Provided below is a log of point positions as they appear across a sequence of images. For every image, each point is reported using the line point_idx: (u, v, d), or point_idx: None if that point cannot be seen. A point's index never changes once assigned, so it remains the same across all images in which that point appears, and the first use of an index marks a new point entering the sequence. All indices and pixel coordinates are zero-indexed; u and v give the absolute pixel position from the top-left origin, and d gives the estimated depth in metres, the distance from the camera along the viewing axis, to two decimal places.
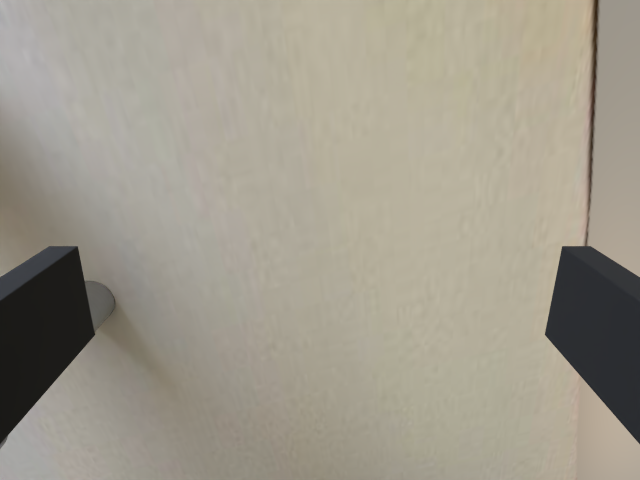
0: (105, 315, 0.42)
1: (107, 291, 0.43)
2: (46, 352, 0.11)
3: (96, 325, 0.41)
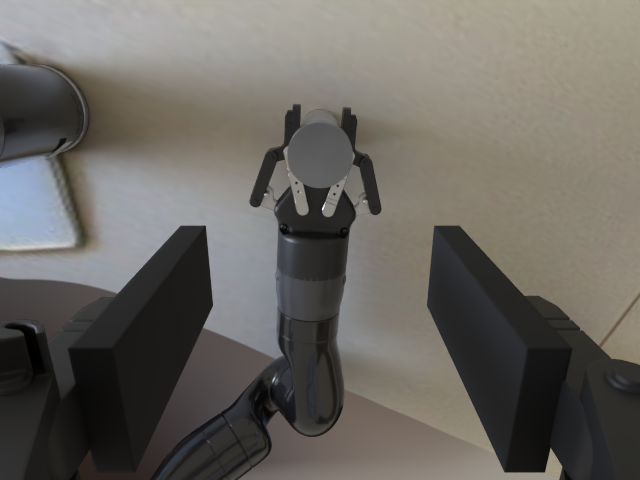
0: (334, 118, 0.48)
1: (320, 109, 0.50)
2: (192, 315, 0.12)
3: (335, 119, 0.47)
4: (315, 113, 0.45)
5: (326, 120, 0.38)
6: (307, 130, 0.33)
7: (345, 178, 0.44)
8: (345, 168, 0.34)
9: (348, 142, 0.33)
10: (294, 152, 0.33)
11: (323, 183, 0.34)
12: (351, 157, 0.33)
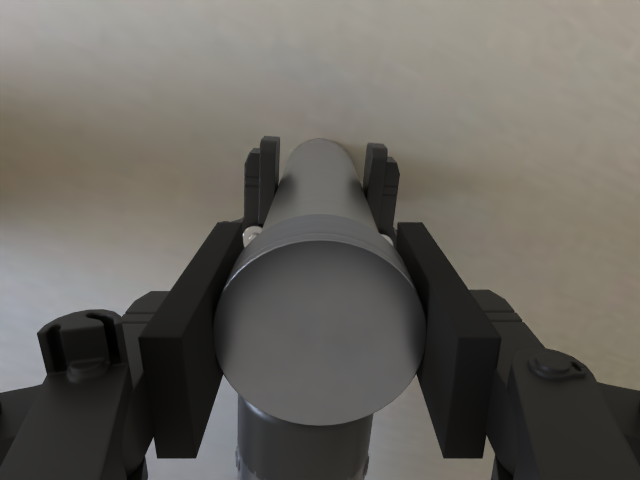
0: (348, 157, 0.25)
1: (320, 139, 0.26)
2: None
3: (350, 163, 0.23)
4: (310, 153, 0.22)
5: (336, 189, 0.15)
6: (276, 264, 0.10)
7: None
8: (401, 374, 0.10)
9: (415, 301, 0.10)
10: (235, 329, 0.10)
11: (330, 414, 0.11)
12: (422, 343, 0.10)
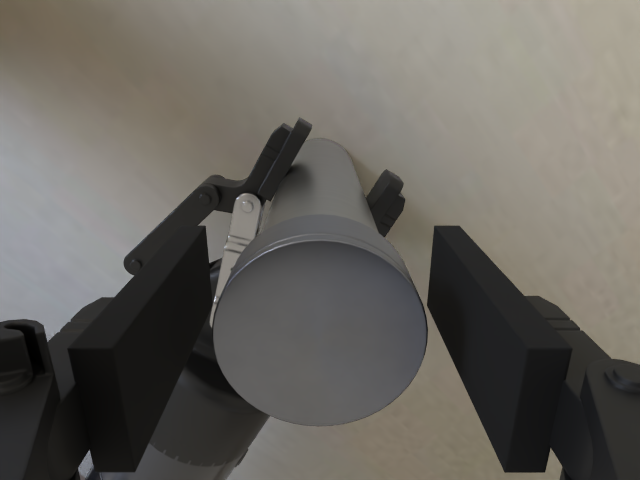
0: None
1: (335, 143, 0.27)
2: (192, 315, 0.12)
3: None
4: (330, 153, 0.22)
5: (359, 200, 0.16)
6: (227, 334, 0.10)
7: None
8: (401, 294, 0.10)
9: (329, 245, 0.09)
10: (269, 394, 0.11)
11: (401, 372, 0.10)
12: (380, 260, 0.10)
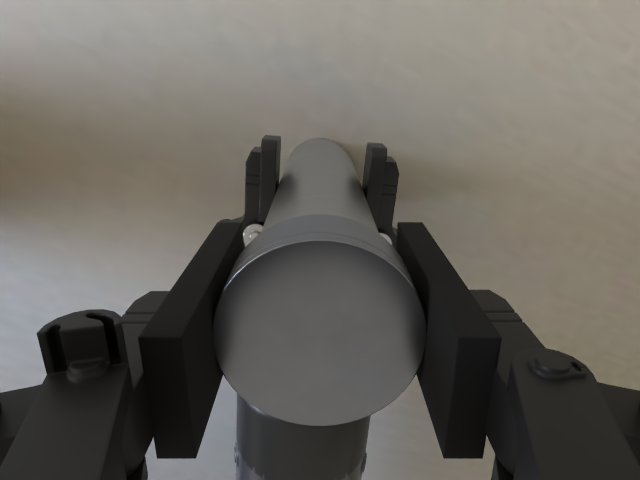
0: (348, 156, 0.25)
1: (320, 139, 0.27)
2: None
3: (350, 162, 0.24)
4: (310, 153, 0.22)
5: (336, 187, 0.15)
6: (236, 369, 0.10)
7: None
8: (369, 266, 0.10)
9: (279, 251, 0.09)
10: (302, 407, 0.11)
11: (411, 337, 0.10)
12: (333, 244, 0.09)
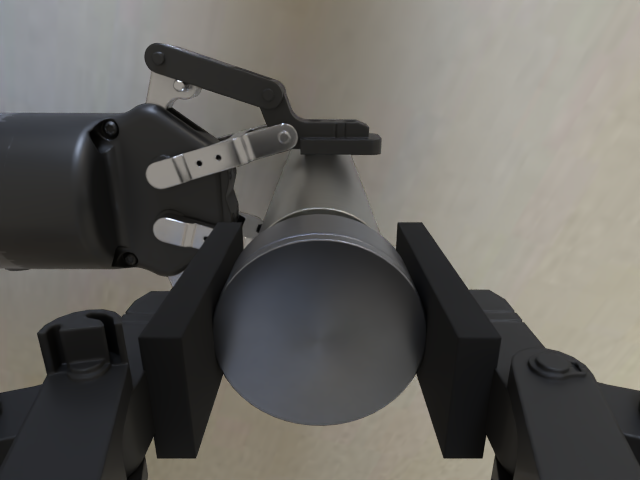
0: None
1: None
2: None
3: None
4: None
5: None
6: (236, 368, 0.10)
7: None
8: (370, 266, 0.10)
9: (280, 251, 0.09)
10: (302, 406, 0.11)
11: (411, 337, 0.10)
12: (333, 244, 0.09)
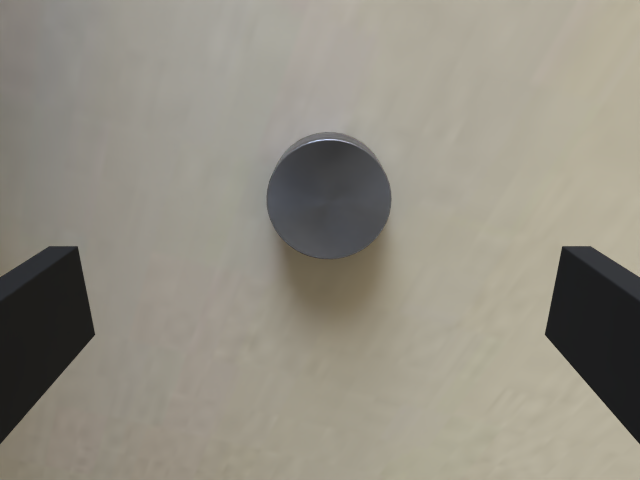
0: None
1: None
2: (46, 352, 0.11)
3: None
4: None
5: None
6: (280, 220, 0.18)
7: None
8: (357, 155, 0.17)
9: (307, 146, 0.17)
10: (318, 246, 0.18)
11: (382, 200, 0.18)
12: (336, 142, 0.17)
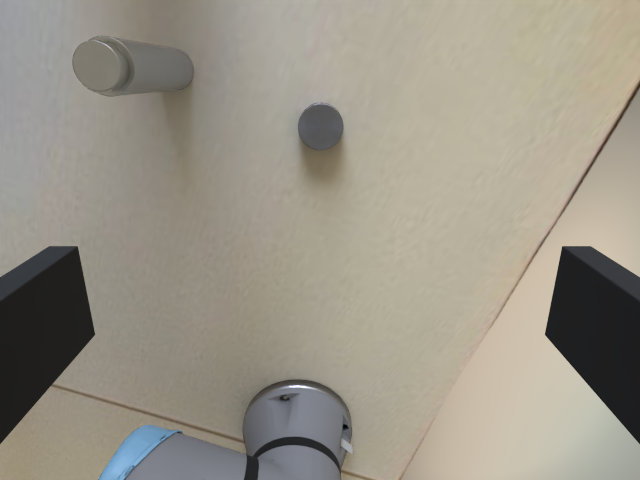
0: (183, 84, 0.47)
1: (192, 68, 0.48)
2: (46, 352, 0.11)
3: (178, 84, 0.46)
4: (178, 62, 0.43)
5: (154, 73, 0.37)
6: (303, 134, 0.49)
7: None
8: (330, 109, 0.48)
9: (312, 106, 0.48)
10: (316, 144, 0.49)
11: (339, 126, 0.49)
12: (323, 104, 0.48)
